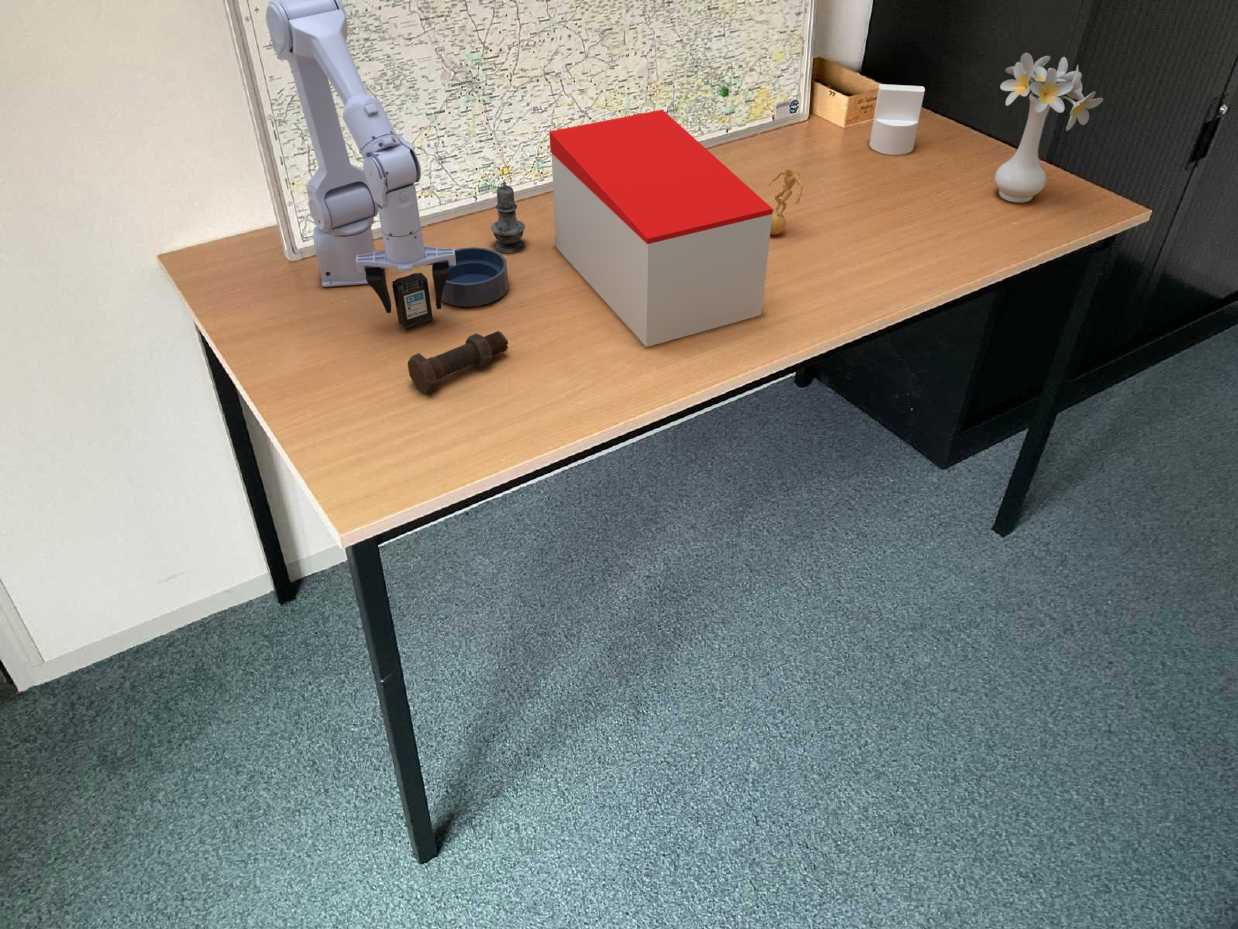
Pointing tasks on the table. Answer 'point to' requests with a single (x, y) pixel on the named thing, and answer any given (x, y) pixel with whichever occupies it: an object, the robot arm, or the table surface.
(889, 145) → the base with upright slab
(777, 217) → the figurine
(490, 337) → the bolt
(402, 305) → the ink cartridge
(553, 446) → the table surface
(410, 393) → the table surface
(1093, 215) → the table surface
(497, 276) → the bowl
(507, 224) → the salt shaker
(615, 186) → the red-topped grey box
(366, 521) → the table surface
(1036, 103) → the flower vase
